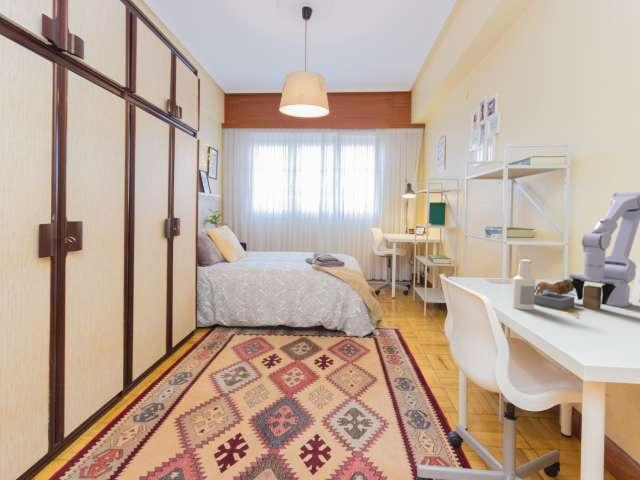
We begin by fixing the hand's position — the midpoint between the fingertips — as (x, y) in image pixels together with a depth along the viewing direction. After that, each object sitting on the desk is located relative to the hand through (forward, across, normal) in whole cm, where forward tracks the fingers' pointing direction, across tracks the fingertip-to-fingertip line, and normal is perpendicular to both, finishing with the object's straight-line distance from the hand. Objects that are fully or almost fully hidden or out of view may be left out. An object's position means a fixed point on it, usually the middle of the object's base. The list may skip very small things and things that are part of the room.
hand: (591, 301), depth 119 cm
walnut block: (+2, 0, 0) cm, 2 cm away
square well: (+2, -9, -8) cm, 12 cm away
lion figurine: (+3, -14, +2) cm, 14 cm away
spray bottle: (+3, -13, -22) cm, 26 cm away
